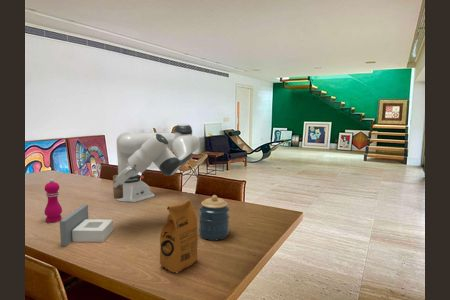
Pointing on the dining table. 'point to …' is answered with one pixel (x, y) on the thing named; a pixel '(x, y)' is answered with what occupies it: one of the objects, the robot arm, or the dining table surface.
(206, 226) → the canister
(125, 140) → the robot arm
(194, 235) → the coffee package
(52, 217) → the pepper mill
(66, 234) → the slate backstop wall
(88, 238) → the white socket block
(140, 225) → the dining table surface
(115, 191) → the walnut dowel
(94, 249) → the dining table surface
